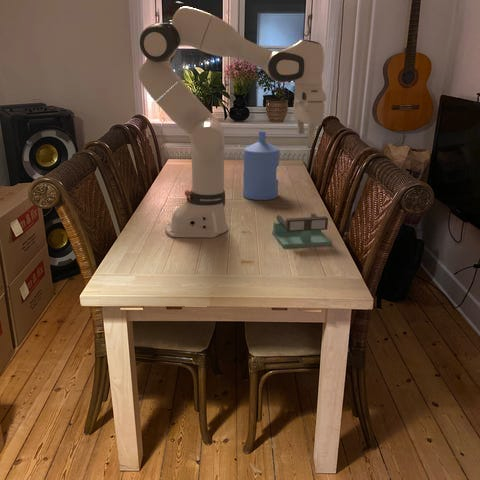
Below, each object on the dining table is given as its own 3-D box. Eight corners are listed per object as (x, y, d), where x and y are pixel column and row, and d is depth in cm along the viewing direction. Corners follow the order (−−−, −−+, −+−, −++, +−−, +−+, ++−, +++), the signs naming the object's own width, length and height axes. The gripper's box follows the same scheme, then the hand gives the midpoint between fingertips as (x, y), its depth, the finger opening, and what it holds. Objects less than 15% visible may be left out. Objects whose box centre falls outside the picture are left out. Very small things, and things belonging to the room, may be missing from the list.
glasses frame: (287, 231, 167) (287, 220, 166) (276, 219, 179) (276, 208, 178) (327, 229, 170) (328, 218, 168) (314, 217, 182) (314, 206, 180)
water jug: (258, 203, 215) (260, 136, 204) (235, 194, 226) (236, 131, 216) (285, 197, 224) (288, 133, 214) (261, 189, 235) (263, 128, 225)
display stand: (283, 247, 167) (283, 233, 165) (272, 233, 180) (272, 220, 178) (331, 244, 171) (332, 230, 169) (317, 231, 183) (318, 218, 181)
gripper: (289, 90, 174) (287, 131, 179) (309, 96, 155) (306, 141, 160) (306, 90, 175) (304, 130, 180) (328, 96, 157) (325, 141, 162)
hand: (305, 136), depth 170 cm, fingers open, 8 cm apart
